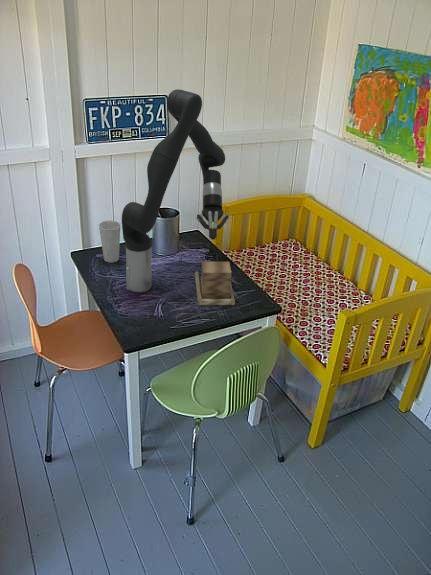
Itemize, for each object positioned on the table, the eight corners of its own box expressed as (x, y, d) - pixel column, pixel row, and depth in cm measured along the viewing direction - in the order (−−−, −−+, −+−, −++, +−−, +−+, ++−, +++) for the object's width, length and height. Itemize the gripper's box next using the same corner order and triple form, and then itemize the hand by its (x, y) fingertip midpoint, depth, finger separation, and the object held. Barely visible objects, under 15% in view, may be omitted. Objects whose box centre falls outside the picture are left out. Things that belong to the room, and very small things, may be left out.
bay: (191, 308, 197) (191, 301, 195) (188, 278, 214) (188, 271, 213) (240, 307, 199) (241, 301, 197) (234, 278, 216) (234, 271, 215)
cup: (118, 253, 229) (117, 219, 220) (124, 262, 222) (123, 228, 214) (98, 256, 226) (96, 221, 217) (103, 265, 219) (101, 230, 211)
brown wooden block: (201, 301, 199) (203, 272, 192) (200, 289, 206) (201, 261, 199) (229, 301, 200) (231, 272, 194) (227, 289, 207) (229, 261, 200)
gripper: (196, 192, 209) (196, 235, 205) (230, 193, 210) (231, 236, 206) (194, 200, 216) (195, 241, 212) (227, 200, 217) (228, 242, 213)
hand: (213, 238), depth 209 cm, fingers closed
